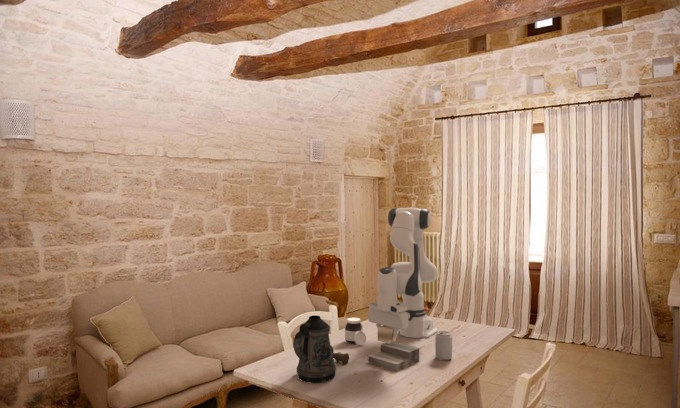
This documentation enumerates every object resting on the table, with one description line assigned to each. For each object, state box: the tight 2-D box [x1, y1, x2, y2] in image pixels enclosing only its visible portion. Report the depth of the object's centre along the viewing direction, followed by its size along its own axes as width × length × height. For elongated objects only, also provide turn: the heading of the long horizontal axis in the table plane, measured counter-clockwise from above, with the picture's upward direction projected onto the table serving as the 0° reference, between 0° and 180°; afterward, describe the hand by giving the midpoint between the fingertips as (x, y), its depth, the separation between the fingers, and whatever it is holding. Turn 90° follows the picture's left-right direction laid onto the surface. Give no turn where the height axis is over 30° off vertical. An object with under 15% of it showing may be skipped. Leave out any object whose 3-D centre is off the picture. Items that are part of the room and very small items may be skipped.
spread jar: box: [344, 317, 367, 346], centre depth 244 cm, size 12×11×12 cm
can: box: [434, 330, 453, 361], centre depth 220 cm, size 8×8×12 cm
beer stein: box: [292, 315, 337, 384], centre depth 198 cm, size 16×19×25 cm
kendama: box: [330, 344, 350, 366], centre depth 219 cm, size 6×10×20 cm
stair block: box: [367, 341, 420, 372], centre depth 215 cm, size 17×16×6 cm
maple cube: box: [377, 325, 398, 344], centre depth 212 cm, size 6×6×6 cm
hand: (387, 335), depth 212 cm, fingers closed on maple cube, 6 cm apart
